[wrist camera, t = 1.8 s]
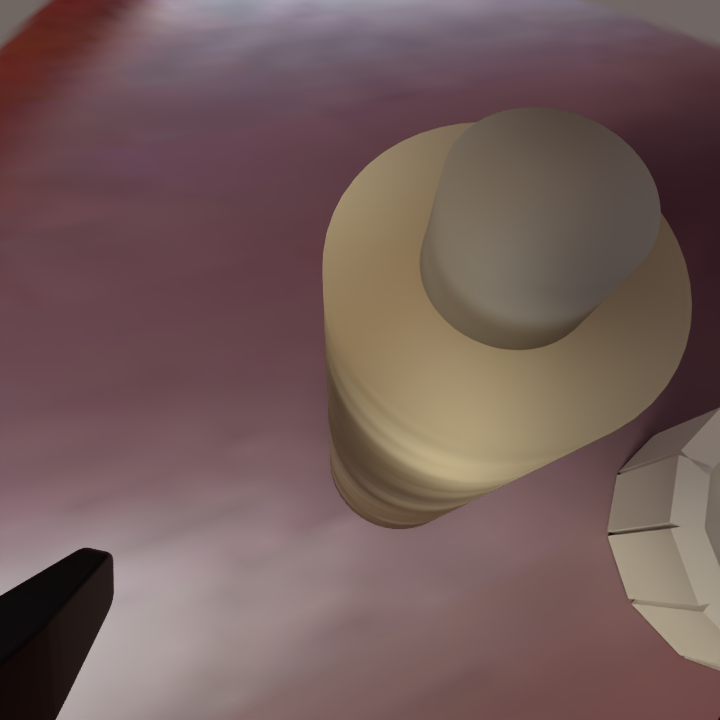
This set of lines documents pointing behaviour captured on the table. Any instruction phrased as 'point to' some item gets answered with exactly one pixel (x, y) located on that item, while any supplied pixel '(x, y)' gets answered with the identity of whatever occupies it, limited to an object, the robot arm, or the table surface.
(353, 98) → the table surface
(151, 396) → the table surface
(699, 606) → the socket
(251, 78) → the table surface
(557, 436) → the pepper mill
